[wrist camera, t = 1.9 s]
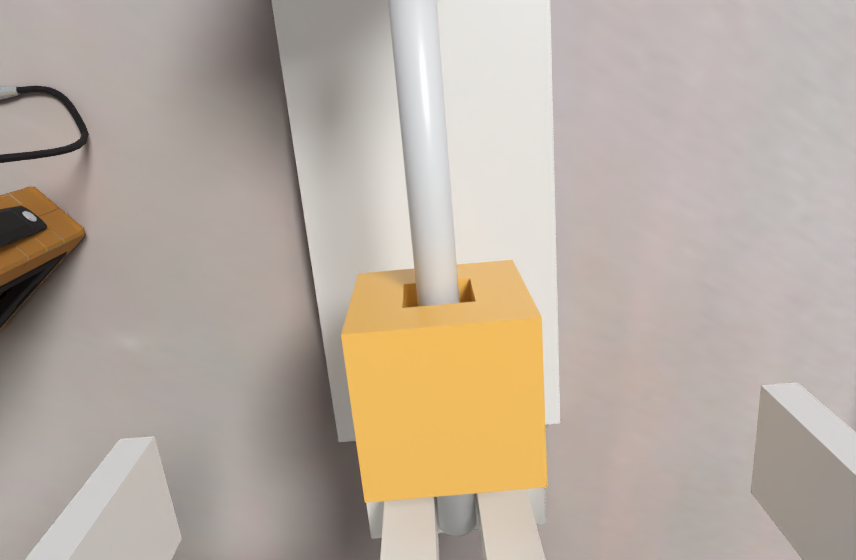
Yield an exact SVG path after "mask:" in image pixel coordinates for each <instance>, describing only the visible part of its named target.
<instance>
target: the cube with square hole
mask: <svg viewBox="0 0 856 560" xmlns="http://www.w3.org/2000/svg"><path fill="white" fill-rule="evenodd" d="M457 274H458V287H459V300H460V303H453V304H442V305H430V306H419V307H418V301H417V290H416V280H415V270H414V268H413V269H402V270H391V271H379V272H368V273H358V276H357V279H356V283H355V286H354V290H353V294H352V297H351V301H350V304H349V308H348V311H347V315H346V319H345V322H344V326H343V329H342V333H341V339H342V346H343V353H344V360H345V367H346V374H347V381H348V388H349V395H350V402H351V409H352V416H353V423H354V430H355V437H356V444H357V452H358V459H359V466H360V473H361V480H362V487H363V494H364V501H365V503H368V502H380V501H392V500H403V499H415V498H427V497H438V496H450V495H462V494H473V493H485V492H497V491H508V490H520V489H532V488H543V487H547V460H546V430H545V399H544V368H543V337H542V316H541V315H540V313H539V311H538V309H537V307H536V305H535V303H534V301H533V299H532V297H531V295H530V293H529V291H528V289H527V287H526V285H525V283H524V281H523V279H522V277H521V275H520V274H519V272H518V270H517V268H516V266H515V264H514V262H513V260H503V261H492V262H481V263H469V264H458V265H457Z"/></svg>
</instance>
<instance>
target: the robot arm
mask: <svg viewBox="0 0 856 560" xmlns="http://www.w3.org/2000/svg"><path fill="white" fill-rule="evenodd" d="M751 493H752V494H753V496H754V497H755V498H756V500H757V501H758V502H759V504H760V505H761V506H762V507H763V509H764V510H765V511H766V513H767V514H768V515H769V517H770V518H771V519H772V521H773V522H774V523H775V524H776V526H777V527H778V528H779V530H780V531H781V532H782V534H783V535H784V536H785V537H786V539H787V540H788V541H789V543H790V544H791V545H792V547H793V548H794V549H795V550H796V552H797V553H798V554H799V556H800V557H801V558H802V560H856V432H855V431H854V430H853V429H851V428H850V427H849V426H848V425H847V424H845V423H844V422H843V421H842V420H841V419H840V418H838V417H837V416H836V415H835V414H834V413H833V412H831V411H830V410H829V409H828V408H827V407H826V406H824V405H823V404H822V403H821V402H820V401H818V400H817V399H816V398H815V397H814V396H813V395H811V394H810V393H809V392H808V391H807V390H806V389H804V388H803V387H802V386H801V385H800V384H799V383H797V382H795V383H783V384H771V385H761V392H760V403H759V413H758V423H757V433H756V443H755V454H754V464H753V474H752V484H751ZM181 539H182V538H181V534H180V530H179V526H178V523H177V519H176V515H175V511H174V508H173V504H172V500H171V496H170V493H169V489H168V485H167V481H166V478H165V474H164V470H163V466H162V463H161V459H160V455H159V451H158V448H157V444H156V440H155V436H151V437H139V438H128V439H119V441H118V442H117V443H116V444H115V446H114V447H113V448H112V449H111V451H110V452H109V453H108V455H107V456H106V457H105V458H104V460H103V461H102V462H101V463H100V465H99V466H98V467H97V469H96V470H95V471H94V472H93V474H92V475H91V476H90V477H89V479H88V480H87V481H86V483H85V484H84V485H83V486H82V488H81V489H80V490H79V491H78V493H77V494H76V495H75V497H74V498H73V499H72V500H71V502H70V503H69V504H68V505H67V507H66V508H65V509H64V511H63V512H62V513H61V514H60V516H59V517H58V518H57V519H56V521H55V522H54V523H53V525H52V526H51V527H50V528H49V530H48V531H47V532H46V533H45V535H44V536H43V537H42V539H41V540H40V541H39V542H38V544H37V545H36V546H35V547H34V549H33V550H32V551H31V553H30V554H29V555H28V556H27V558H26V559H25V560H171V559H172V557H173V555H174V553H175V551H176V549H177V547H178V545H179V543H180V541H181Z"/></svg>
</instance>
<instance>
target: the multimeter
mask: <svg viewBox="0 0 856 560" xmlns="http://www.w3.org/2000/svg"><path fill="white" fill-rule="evenodd" d="M28 92H44V93H48V94H51V95H53V96H55V97H57V98H58V99H59V100H61V101H62V102H63V103H64V105H65V106H66V107H67V108H68V110H69V111H70V113H71V114H72V116H73V118H74V120H75V121H76V123H77V125H78V127H79V130H80V132H81V138H80V139H79V140H78V141H76V142H75V143H73V144H70V145H67V146H64V147H59V148H54V149H48V150H40V151H33V152H23V153H13V154H3V155H0V163H4V162H12V161H20V160H29V159H37V158H43V157H50V156H56V155H61V154H65V153H69V152H72V151H75V150H77V149H80V148H81V147H82V146H83V145H84V144H86V142H87V138H88V131H87V128H86V126H85V124H84V122H83V120H82V118H81V116H80V115H79V113H78V111H77V110H76V108H75V106H74V105H73V104H72V102H71V101H70V100H69V99H68V98H67V97H66V96H65V95H64V94H62V93H61V92H59V91H57V90H55V89H53V88H50V87H44V86H27V87H17V86H0V100H1V99H8V98H11V97H14V96H18V95H19V94H20V93H28ZM84 236H85V230H84V228H83V227H82V226H81V225H79V224H78V223H77V222H76V221H75V220H73V219H72V218H71V217H70V216H69V215H67V214H66V213H65V212H64V211H63V210H61V209H60V208H59V207H58V206H57V205H56V204H54V203H53V202H52V201H51V200H50V199H48V198H47V197H46V196H45V195H44V194H43V193H41V192H40V191H39V190H38V189H37V188H36V187H26V188H24V189H21V190H17V191H14V192H10V193H7V194H5V195H0V331H1V329H2V328H3V327H4V326H5V325H6V324H7V323H8V321H9V320H10V319H11V317H12V316H13V315H14V314H15V313H16V312H17V311H18V310H19V308H20V307H21V306H22V305H23V304H24V303H25V302H26V301H27V299H28V298H29V297H30V296H31V295H32V294H33V293H34V292H35V291H36V289H37V288H38V287H39V286H40V285H41V284H42V283H43V282H44V280H45V279H46V278H47V277H48V276H49V275H50V274H51V273H52V271H53V270H54V269H55V268H56V267H57V266H58V265H59V264H60V263H61V261H62V260H63V259H64V258H65V257H66V256H67V255H68V254H69V252H70V251H71V250H72V249H74V248H75V247H76V246H77V244H78V243H79V242H80V241H81V240H82V239H83V237H84Z"/></svg>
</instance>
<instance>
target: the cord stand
mask: <svg viewBox="0 0 856 560" xmlns="http://www.w3.org/2000/svg"><path fill="white" fill-rule="evenodd" d="M271 1H272V8H273V14H274V21H275V28H276V34H277V41H278V47H279V54H280V60H281V67H282V74H283V80H284V87H285V93H286V100H287V106H288V113H289V120H290V126H291V133H292V139H293V146H294V152H295V159H296V166H297V172H298V179H299V185H300V192H301V199H302V205H303V212H304V218H305V225H306V231H307V238H308V245H309V251H310V258H311V264H312V271H313V277H314V284H315V291H316V297H317V304H318V310H319V317H320V323H321V330H322V337H323V343H324V350H325V356H326V363H327V370H328V376H329V383H330V389H331V396H332V402H333V409H334V416H335V422H336V429H337V435H338V442H349V441H356V437H355V430H354V423H353V416H352V409H351V402H350V395H349V388H348V381H347V374H346V367H345V360H344V353H343V346H342V339H341V333H342V329H343V326H344V322H345V319H346V315H347V311H348V308H349V304H350V301H351V297H352V294H353V290H354V286H355V283H356V279H357V276H358V273H368V272H379V271H391V270H402V269H413V268H414V270H415V280H416V290H417V301H418V307H419V306H430V305H442V304H453V303H460V300H459V287H458V274H457V265H458V264H469V263H481V262H492V261H503V260H513V262H514V264H515V266H516V268H517V270H518V272H519V274H520V275H521V277H522V279H523V281H524V283H525V285H526V287H527V289H528V291H529V293H530V295H531V297H532V299H533V301H534V303H535V305H536V307H537V309H538V311H539V313H540V315H541V316H542V337H543V368H544V399H545V424H557V423H560V395H559V354H558V312H557V270H556V228H555V186H554V145H553V103H552V61H551V19H550V0H271ZM366 505H367V512H368V519H369V526H370V533H371V539H376V538H382V542H381V556H380V560H439V540H438V533H446V534H448V535H451V536H463V535H466V534H469V533H470V532H472V531H473V530H479V534H480V541H481V548H482V555H483V560H545V556H544V552H543V548H542V545H541V541H540V537H539V533H538V530H537V526H536V525H540V524H546V509H545V487H543V488H532V489H520V490H508V491H497V492H485V493H473V494H462V495H450V496H438V497H427V498H415V499H403V500H392V501H380V502H368V503H366Z"/></svg>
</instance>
